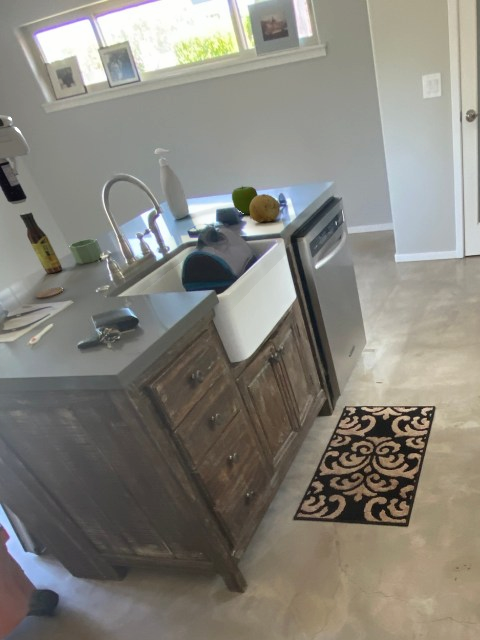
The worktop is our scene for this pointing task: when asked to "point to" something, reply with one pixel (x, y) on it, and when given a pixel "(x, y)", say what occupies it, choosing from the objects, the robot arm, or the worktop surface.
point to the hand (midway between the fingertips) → (6, 176)
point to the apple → (243, 198)
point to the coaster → (49, 292)
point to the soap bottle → (172, 188)
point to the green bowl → (86, 251)
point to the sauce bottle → (41, 244)
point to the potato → (264, 208)
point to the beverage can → (10, 184)
